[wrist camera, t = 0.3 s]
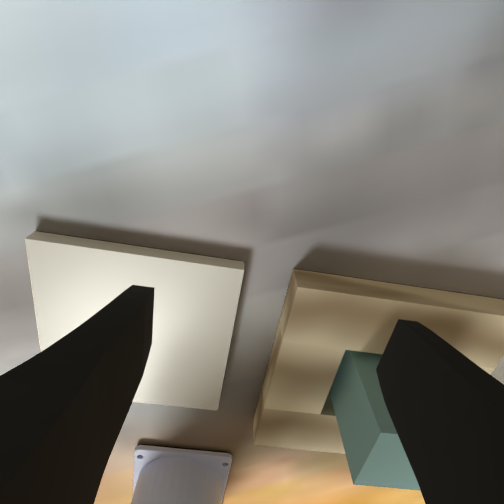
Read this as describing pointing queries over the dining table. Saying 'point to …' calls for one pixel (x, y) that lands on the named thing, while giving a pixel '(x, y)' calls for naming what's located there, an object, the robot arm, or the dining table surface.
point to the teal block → (368, 425)
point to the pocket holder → (354, 346)
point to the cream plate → (164, 314)
